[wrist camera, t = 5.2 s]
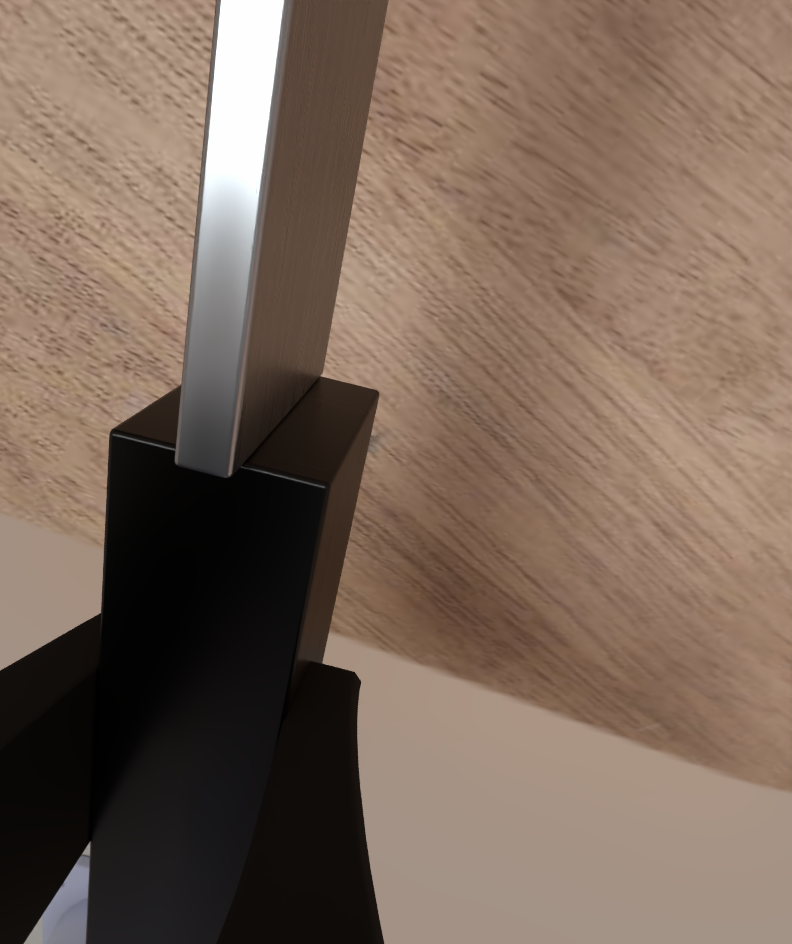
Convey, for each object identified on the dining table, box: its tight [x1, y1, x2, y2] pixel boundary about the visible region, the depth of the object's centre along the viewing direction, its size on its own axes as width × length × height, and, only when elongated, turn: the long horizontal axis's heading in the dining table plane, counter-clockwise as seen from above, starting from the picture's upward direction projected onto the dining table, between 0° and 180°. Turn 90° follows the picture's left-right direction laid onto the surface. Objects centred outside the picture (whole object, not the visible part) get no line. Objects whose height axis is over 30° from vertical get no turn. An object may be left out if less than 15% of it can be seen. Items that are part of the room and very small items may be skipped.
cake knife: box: [86, 0, 388, 944], centre depth 6 cm, size 20×2×3 cm, turn 168°
